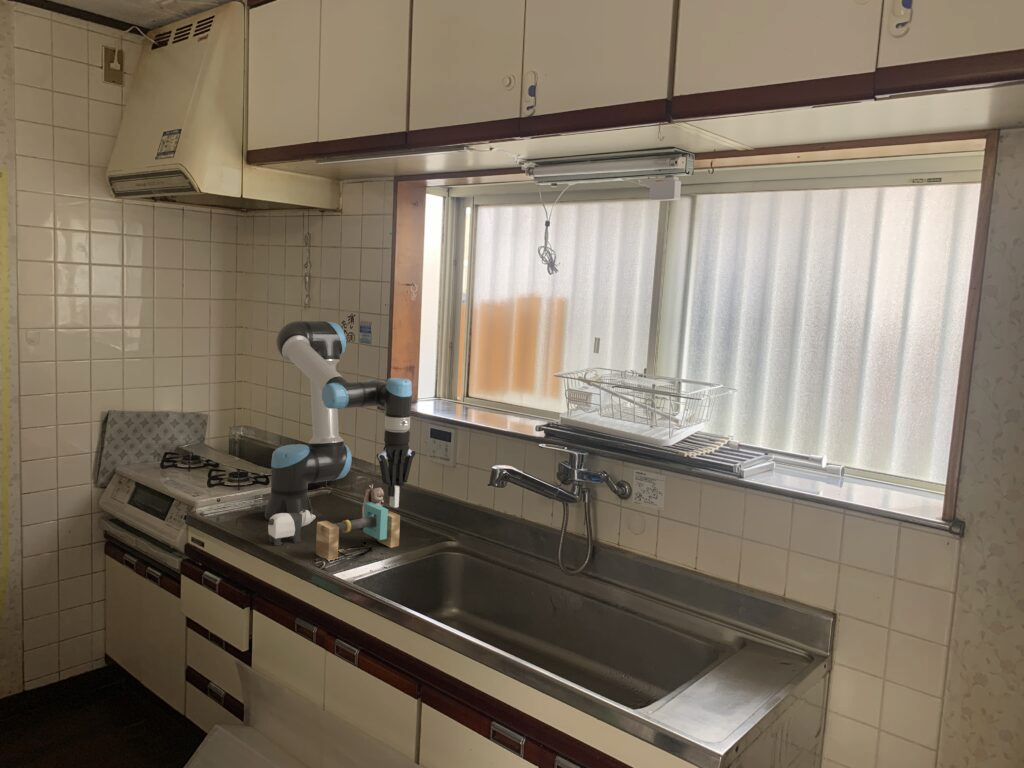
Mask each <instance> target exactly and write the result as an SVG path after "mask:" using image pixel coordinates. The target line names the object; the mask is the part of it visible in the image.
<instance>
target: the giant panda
mask: <svg viewBox="0 0 1024 768" xmlns="http://www.w3.org/2000/svg"><path fill="white" fill-rule="evenodd" d="M316 517H317V516H316V514H313V513H312V514H311V513H310V512H309V511H308V510H306V509H304V510H303V508H301V512H300V513H279V514H275V515H273V516H272V517H271V518H270V520H268V527H267V531H268V538H269V543H271V542H273V545H274V546H275V545H278V546H282V545H281V544H283V542H282V541H281V539H282V538H288V540H292V542H293V543H295V542H296V543H302V541H303V540H302V539H301V532H302V527H304V526H308V525H309V524H310V523H312V522H313V521H314V520H315V519H316Z"/></svg>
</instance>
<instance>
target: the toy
mask: <svg viewBox="0 0 1024 768" xmlns="http://www.w3.org/2000/svg"><path fill="white" fill-rule="evenodd" d="M369 487H370V488H367V489H365V493H364V498H363V504H362V508H361V509H362V510H361V518H364V503H368V502H372V500H374V503H375V504H377V505H379V506H382V507H384V508H386V507H385V506H384V503H386V500H384V496H385V492H384V490H383V488H382V487H376V488H374V483H372V484H371V485H370V484H369ZM374 516H377V515H375V514H374Z"/></svg>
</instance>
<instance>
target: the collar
mask: <svg viewBox="0 0 1024 768" xmlns="http://www.w3.org/2000/svg"><path fill="white" fill-rule="evenodd" d="M363 503H364V502H363ZM384 507H385V506H384ZM384 507H382V506H379V505H377V504H375V502H372V501H371V502H368V503H364V518H367V517H372V516H374V514H375V515H377V525H376V526H371V527H365V528H362V532H363V533H364V534H366V535H368V536H370V537H373V538H375V539H376V540H377V541H378V540H383V539H387V518H388V510H389V509H388V508H386V507H385V508H384Z"/></svg>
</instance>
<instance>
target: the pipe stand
mask: <svg viewBox="0 0 1024 768" xmlns="http://www.w3.org/2000/svg"><path fill="white" fill-rule="evenodd" d="M400 523H401V514H398V513H396V512H394V511H392V510H391V511H390V510H389V509H388V518H387V539H383V540H378V539H377V542H378V543H380V544H382V545H385V546H386V547H388V548H396V547H399V546H400V533H401V532H400V529H401V528H400V527H401V526H400V525H401V524H400ZM371 526H375V527H376V526H377V516H372V517H367V518H362V517H361V518H356V519H352V520H349V519H346V520H345V519H344V520H342V521H340V522H335V523H333V522H330V521H328V520H321V521H317V522H316V535H315V536H316V539H315V541H316V542H315V555H316V554H317V555H316V556H318V555H319V556H318V557H320V558H322V557H323V558H326V559H327V560H328V561H327V560H326V561H327V562H331V561H330V560H333V561H336V560H335V559H337V560H339V552H338V551H342V550H344V549H345V548H341V549H339V537H340V533H349V532H351V531H355V530H359V529H363V528H365V527H371ZM323 558H322V559H323Z"/></svg>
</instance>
